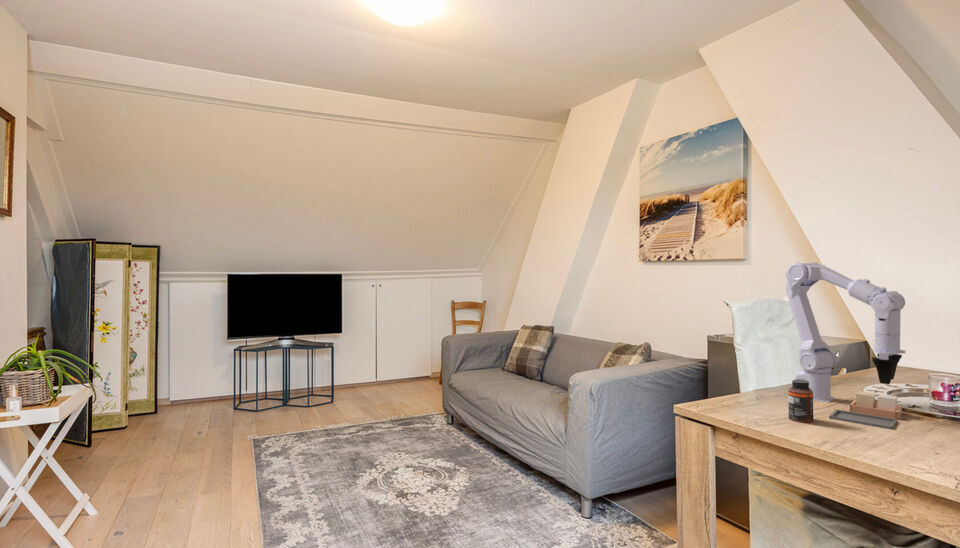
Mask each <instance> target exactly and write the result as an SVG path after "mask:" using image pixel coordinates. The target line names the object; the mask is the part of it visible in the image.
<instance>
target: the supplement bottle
mask: <svg viewBox="0 0 960 548" xmlns="http://www.w3.org/2000/svg"><path fill="white" fill-rule="evenodd" d="M791 385H792V386H790V387H789V388H788V392H787V393H788V397H787V398H788V403H787V404H788V406H787V407H788V420H790V421H792V422H796V423H802V424H812V423H813V422H814V400H813V391H812V390H811V389H810V388H809V382H808V381H806V380H800V379H796V380H795V379H792V383H791Z"/></svg>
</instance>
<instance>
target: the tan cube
mask: <svg viewBox="0 0 960 548" xmlns="http://www.w3.org/2000/svg"><path fill="white" fill-rule="evenodd" d="M855 399H856V405H857V406H864V407H870V408H875V402H876V393H874V392H867V391H862V390H860V391H859V390H858V391H857V392H856V393H855Z"/></svg>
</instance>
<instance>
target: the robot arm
mask: <svg viewBox="0 0 960 548" xmlns="http://www.w3.org/2000/svg"><path fill="white" fill-rule="evenodd" d="M785 276H786V286H785V287H786V288H785V289H786V290H785V292H786V296H787V299H788V302H789V305H790V308H791V311H792V315H793V318H794V322H795V324H796V327H797V331H798V333H799V334H798V335H799V336H800V340H801V345H800V346H799V348H798V352H799V358H798V359H799V360H798V362H799V365H800V367H801V368H802V369H796V372H795V378H794V380H796V379H800V380H806V381H808V382H809V388H810V389H811V390H812V391H813V401H815V402H823V403H831V401H833V400H834V399H835V396H831V395H832V394H831V390H832V388H831V384H832V383H831V381H832V380H831V379H832V373H831V372H832V369H833V367H835V366H836V363H837V359H836V358H837V357H836V355H835V354H834V353H833V352H832V351H831V349H830V346H829V344H828V343H826V342H825V341H824V340H823V339H822V338H821V337H822V336H821V334H820V330H819V327H818V325H817V321H816V319H815V315H814V312H813V310H812V307H811V304H810V300H809V298H808V292H809V290H810V288H812V287H813V286H814V285H815V284H817V283H818V282H819V281H821V280H822V281H825V282H827V283H829V284H832V285H834V286H837V287H839V288H842V289H844V290H846V291H847V293H848V296H850V297H851V298H854V299H856V300H858V301H861V302H862V303H864V304H866V305H868V306H870V307H871V309H872V310H873V311H874V348H873V352H875V353H876V355H877V357H876V356H875V357H872V358H871V359H872V362H873V364H874V366H875V369H876V372H877V377H878V379H879V383H880V384H883V385H884V384H885V385H890V383H891V382H892V380H894V379H895V375H896V371H897V367H898V364H899V362H900V360H901V358H902V357H903V355H902V354H906V350H904V349H901V311H902V309H904V307H905V305H906V300H905V298H904V296H903V295H902V294H901V293H899V292H898V291H896V290H891V291H888V290H887V288H886V287H884V286H883V287H880V286H877V285H875V284H874V283H871V280H870V279H866V278H865V279H861V278H859V279H856V280H854V279H851V278H849V277H848V276H846V275H844V274H841V273H840V272H837V271H836V270H834V269H831V268H830V267H828V266H826V265H825V264H820V263H818V262H794V263H792V264H790V266H788V268H787V270H786V272H785Z"/></svg>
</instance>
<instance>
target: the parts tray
mask: <svg viewBox="0 0 960 548" xmlns="http://www.w3.org/2000/svg"><path fill="white" fill-rule="evenodd" d="M828 419H829V420H830V419H831V420H835V421H842V422H846V423H853V424H860V425H864V426H870V427H877V428H881V429H886V430H893V429H894V428H895V426H896V424H897V422H898V420H897V419H892V418H886V417H880V416H873V415H867V414H861V413H855V412H850V410H848V411H847V410H842V409H835V410H834V411H833V412H832V413H830V415H829V416H828Z"/></svg>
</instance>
